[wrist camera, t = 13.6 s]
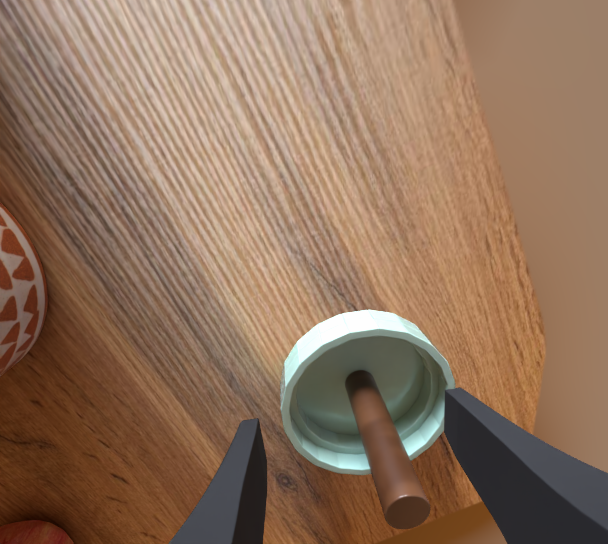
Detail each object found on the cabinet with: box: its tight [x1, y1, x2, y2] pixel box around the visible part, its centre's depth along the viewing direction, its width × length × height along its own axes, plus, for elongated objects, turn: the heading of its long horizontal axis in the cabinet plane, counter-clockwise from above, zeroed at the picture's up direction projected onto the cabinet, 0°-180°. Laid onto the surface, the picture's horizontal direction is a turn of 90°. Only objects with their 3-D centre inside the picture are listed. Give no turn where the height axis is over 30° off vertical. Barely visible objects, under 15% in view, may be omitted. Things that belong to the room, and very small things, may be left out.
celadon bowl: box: [280, 310, 455, 475], centre depth 22 cm, size 11×11×3 cm
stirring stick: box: [345, 370, 430, 529], centre depth 19 cm, size 2×2×9 cm
